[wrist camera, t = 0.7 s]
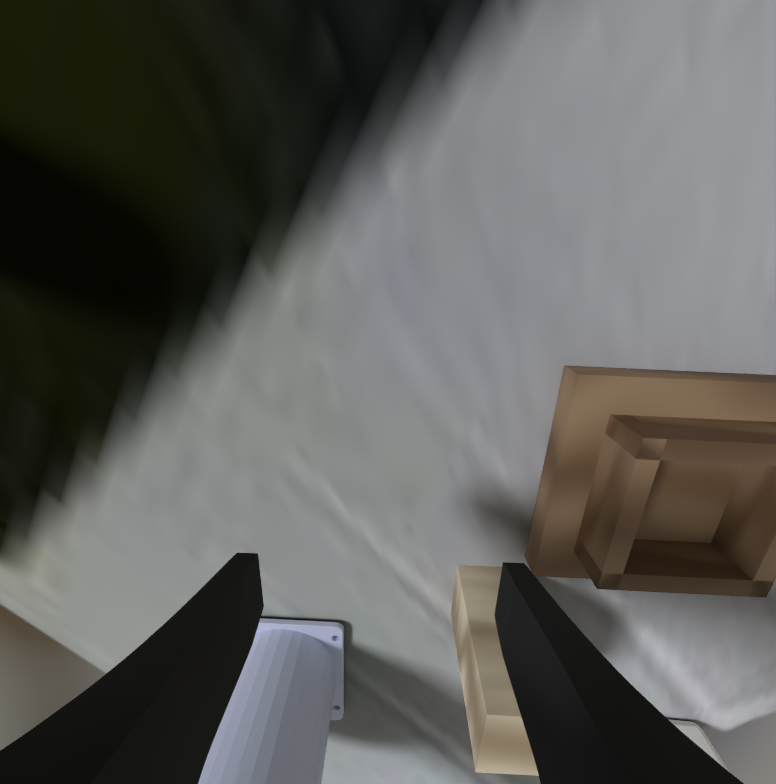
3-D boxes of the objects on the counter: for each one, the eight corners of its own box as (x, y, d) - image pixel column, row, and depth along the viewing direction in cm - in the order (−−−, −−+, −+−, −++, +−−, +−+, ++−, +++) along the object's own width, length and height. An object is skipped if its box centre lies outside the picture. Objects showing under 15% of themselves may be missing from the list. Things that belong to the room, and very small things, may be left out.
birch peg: (512, 615, 24) (564, 777, 17) (450, 612, 24) (475, 772, 17) (521, 568, 23) (583, 719, 15) (457, 565, 23) (487, 715, 15)
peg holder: (722, 565, 22) (789, 627, 19) (524, 556, 22) (550, 615, 19) (806, 376, 18) (913, 406, 14) (564, 365, 18) (607, 392, 15)
